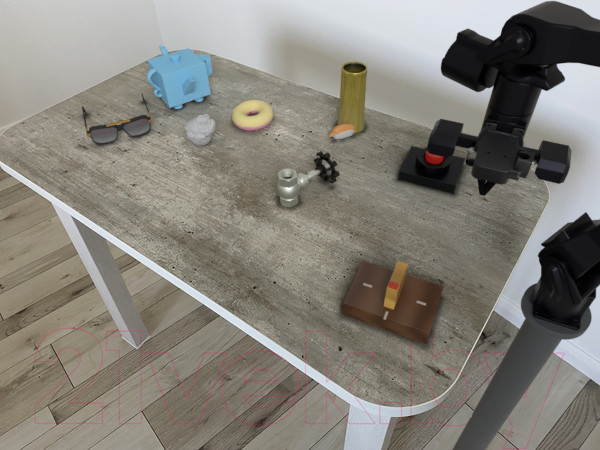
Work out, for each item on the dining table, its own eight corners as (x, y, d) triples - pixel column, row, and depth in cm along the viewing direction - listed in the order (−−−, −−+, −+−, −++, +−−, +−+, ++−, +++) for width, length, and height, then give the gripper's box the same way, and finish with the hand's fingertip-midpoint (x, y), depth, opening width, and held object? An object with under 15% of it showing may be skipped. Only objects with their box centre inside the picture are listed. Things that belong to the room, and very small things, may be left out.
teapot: (168, 123, 111) (156, 79, 103) (140, 90, 122) (128, 47, 114) (229, 102, 117) (222, 58, 109) (198, 72, 128) (190, 30, 120)
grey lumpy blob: (216, 152, 103) (211, 125, 98) (184, 151, 104) (177, 124, 99) (221, 136, 107) (217, 108, 102) (191, 135, 108) (185, 107, 103)
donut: (277, 121, 115) (242, 109, 116) (280, 103, 112) (244, 91, 113) (261, 139, 107) (223, 126, 109) (264, 120, 104) (225, 107, 106)
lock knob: (394, 279, 74) (397, 259, 71) (404, 282, 74) (408, 262, 71) (383, 306, 71) (386, 286, 68) (393, 310, 71) (397, 290, 67)
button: (445, 155, 95) (447, 148, 94) (441, 166, 92) (442, 159, 91) (427, 151, 96) (428, 144, 95) (422, 161, 94) (424, 154, 92)
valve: (290, 215, 89) (339, 187, 94) (289, 188, 84) (340, 160, 90) (269, 196, 93) (317, 171, 98) (267, 170, 88) (317, 144, 93)
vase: (336, 119, 111) (338, 60, 101) (363, 118, 111) (367, 59, 101) (338, 134, 107) (340, 75, 97) (365, 133, 107) (371, 74, 97)
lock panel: (440, 295, 76) (444, 283, 74) (425, 346, 70) (429, 334, 67) (362, 270, 80) (363, 258, 77) (341, 316, 74) (342, 304, 71)
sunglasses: (144, 101, 118) (139, 83, 115) (156, 134, 108) (150, 115, 105) (85, 114, 115) (78, 96, 111) (92, 150, 105) (84, 130, 101)
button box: (463, 166, 98) (467, 150, 95) (453, 194, 92) (458, 178, 89) (409, 154, 101) (412, 138, 98) (397, 179, 96) (400, 163, 93)
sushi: (357, 135, 106) (358, 124, 104) (331, 143, 104) (331, 131, 102) (351, 129, 108) (352, 118, 106) (326, 137, 106) (326, 125, 104)
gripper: (426, 122, 61) (409, 210, 72) (586, 156, 55) (541, 247, 67) (445, 81, 68) (427, 167, 79) (589, 107, 63) (548, 197, 74)
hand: (482, 193), depth 75 cm, fingers closed
